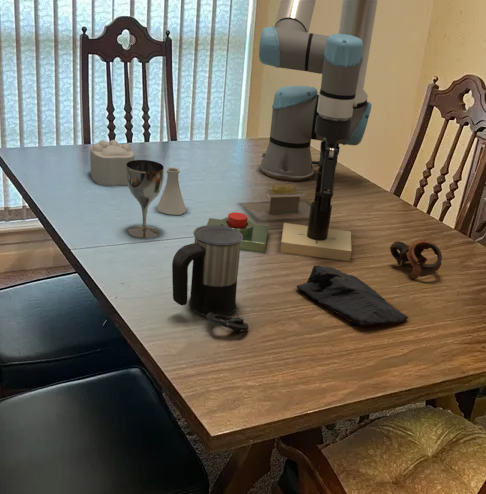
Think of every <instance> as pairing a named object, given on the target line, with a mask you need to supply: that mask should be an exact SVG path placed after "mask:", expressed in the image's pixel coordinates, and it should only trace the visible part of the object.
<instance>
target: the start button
mask: <svg viewBox="0 0 486 494" xmlns="http://www.w3.org/2000/svg"><path fill="white" fill-rule="evenodd" d="M227 214H228V215H227V217H228V225H230V226H233V227H245V226H247V220H248V215H246V214H245V213H243V212H236V211H235V212H230V213H227Z"/></svg>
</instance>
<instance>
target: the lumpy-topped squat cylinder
mask: <svg viewBox="0 0 486 494" xmlns="http://www.w3.org/2000/svg"><path fill="white" fill-rule="evenodd" d="M89 155H90V177H91V179H92V181H94V182H95V183H96V184H97V185H99V186H103V187H112V186H128V183H127V174H126V164H127V163H128V162H130V161H134V160H135V153H134V151H133V149H132V147H131V145H130V144H128V143H123V144H121V143H119V142H118V140H116V139H112V140H110V141H106V140H105V139H101V140H100V141H99V142H96V143H93V144H92V145H91V146H90V147H89Z"/></svg>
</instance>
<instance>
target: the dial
mask: <svg viewBox="0 0 486 494" xmlns="http://www.w3.org/2000/svg"><path fill="white" fill-rule="evenodd" d="M317 205H318V201H315V202H314V201H312V202H311V203H310V215H309V218H308V223H307V226H308V229H307V237H309V238H311V239H313V240H325V239H327V236H328V229H330V222H331V216H332V210H333V205H332V204H330V211H329V217H328V224H327V225H321V224H315V220H316V212H317Z"/></svg>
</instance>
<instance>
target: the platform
mask: <svg viewBox="0 0 486 494" xmlns="http://www.w3.org/2000/svg"><path fill="white" fill-rule="evenodd" d="M296 188H297V186H294V185H293V184H272V185H271V189H267V192H266V196H267V198H270V202H259V203H258V202H257V203H255V202H254V203H241V206H242V207H243V208H244V209H245V210H247V211H255V212H262V213H269V214H275V215H285V216H292V217H301V218H307V219H309V215H310V207H311V205H309V204H308V203H307V202H305V201H300V199H301V197H306V193H305V192H304V191H300V190H297V189H296Z"/></svg>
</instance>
